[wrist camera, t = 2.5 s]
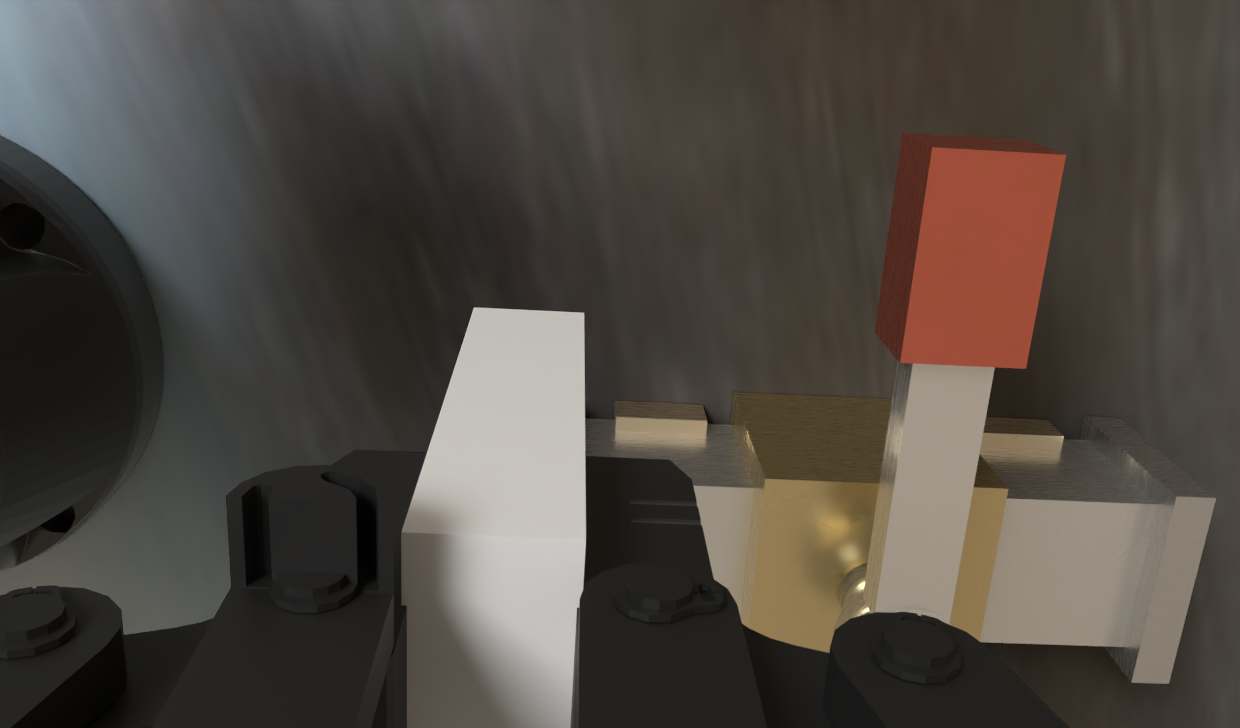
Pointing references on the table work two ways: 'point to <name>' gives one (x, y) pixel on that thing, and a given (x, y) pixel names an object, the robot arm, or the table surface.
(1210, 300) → the table surface
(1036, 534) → the valve pipe
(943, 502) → the valve lever
